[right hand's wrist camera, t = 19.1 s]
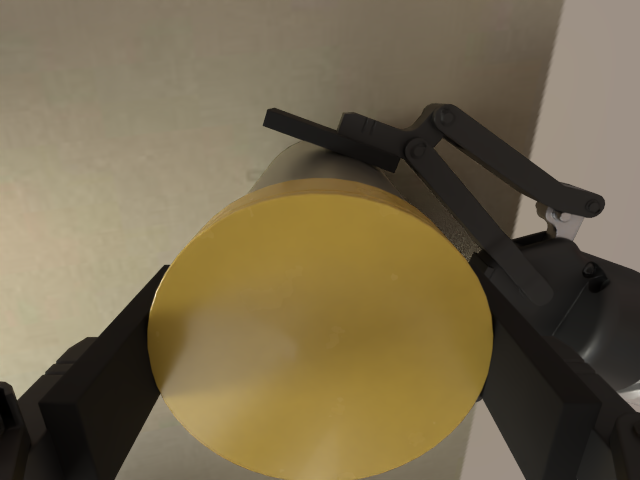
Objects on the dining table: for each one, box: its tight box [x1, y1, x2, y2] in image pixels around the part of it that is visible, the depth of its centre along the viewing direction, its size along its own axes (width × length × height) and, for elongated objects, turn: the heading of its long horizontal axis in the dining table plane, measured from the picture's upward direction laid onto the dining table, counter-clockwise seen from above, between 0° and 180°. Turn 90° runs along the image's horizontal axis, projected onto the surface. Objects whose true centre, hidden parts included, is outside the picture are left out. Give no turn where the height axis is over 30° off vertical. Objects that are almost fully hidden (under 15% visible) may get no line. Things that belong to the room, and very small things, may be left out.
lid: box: [147, 178, 493, 480], centre depth 12 cm, size 10×10×2 cm
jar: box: [248, 141, 408, 203], centre depth 19 cm, size 9×9×16 cm
